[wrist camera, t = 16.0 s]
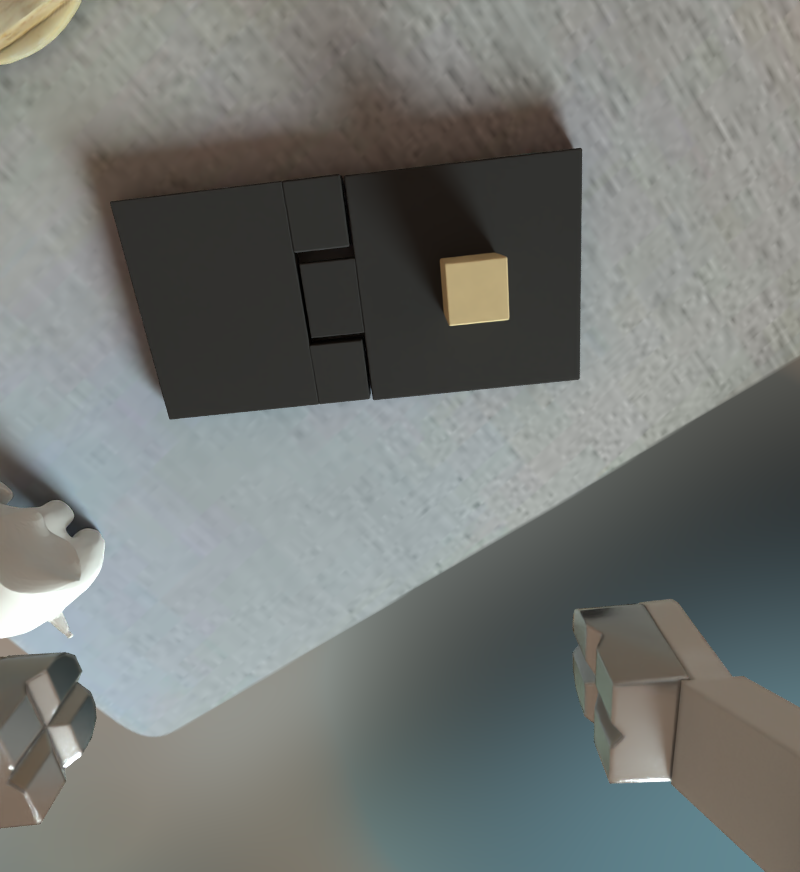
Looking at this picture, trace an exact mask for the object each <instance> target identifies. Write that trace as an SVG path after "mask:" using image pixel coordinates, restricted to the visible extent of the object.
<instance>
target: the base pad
mask: <svg viewBox="0 0 800 872" xmlns="http://www.w3.org/2000/svg"><path fill="white" fill-rule="evenodd" d="M110 204H111V208H112V211H113V215H114V219H115V222H116V226H117V230H118V233H119V237H120V241H121V244H122V248H123V251H124V255H125V259H126V262H127V266H128V270H129V273H130V277H131V281H132V284H133V288H134V292H135V295H136V299H137V303H138V306H139V310H140V314H141V317H142V321H143V324H144V328H145V332H146V335H147V339H148V343H149V346H150V350H151V354H152V357H153V361H154V365H155V368H156V372H157V376H158V379H159V383H160V387H161V390H162V394H163V397H164V401H165V405H166V408H167V412H168V416H169V419H179V418H189V417H199V416H209V415H218V414H228V413H238V412H248V411H257V410H267V409H277V408H287V407H297V406H306V405H316V404H326V403H336V402H345V401H355V400H365V399H370V394H371V391H370V384H369V376H368V368H367V361H366V353H365V346H364V338H363V336H359V337H350V338H341V339H331V340H322V341H313V342H312V338H311V333H310V327H309V321H308V315H307V309H306V303H305V297H304V291H303V285H302V278H301V272H300V266H299V259H298V253H297V252H306V251H314V250H323V249H332V248H341V247H348V246H350V245H351V241H350V233H349V225H348V218H347V210H346V203H345V195H344V188H343V180H342V176H340V175H339V174H337V175H328V176H320V177H312V178H304V179H295V180H287V181H282V182H281V181H278V182H270V183H262V184H253V185H245V186H237V187H228V188H220V189H212V190H203V191H195V192H187V193H178V194H170V195H162V196H153V197H145V198H137V199H129V200H120V201H112V202H110Z"/></svg>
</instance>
